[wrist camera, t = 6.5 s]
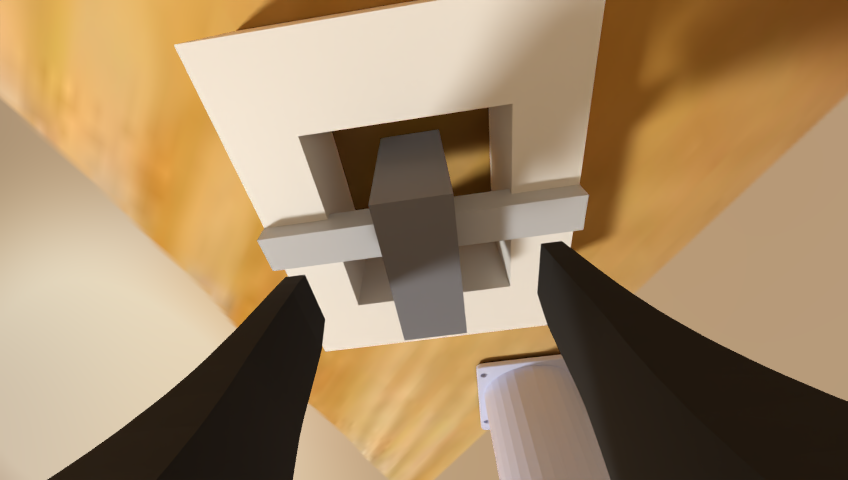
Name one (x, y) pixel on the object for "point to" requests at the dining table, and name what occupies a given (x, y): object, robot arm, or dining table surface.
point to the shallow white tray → (402, 100)
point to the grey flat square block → (418, 234)
